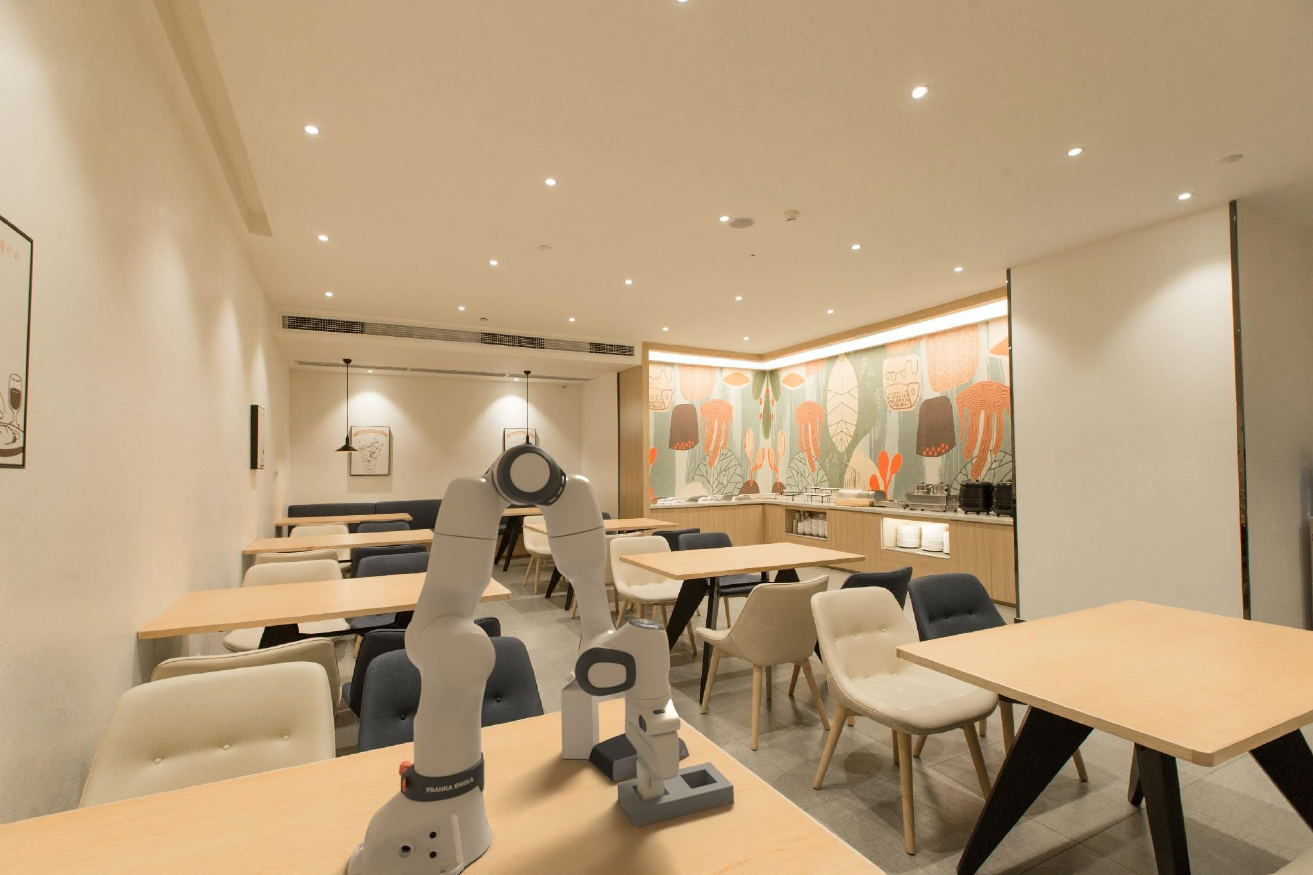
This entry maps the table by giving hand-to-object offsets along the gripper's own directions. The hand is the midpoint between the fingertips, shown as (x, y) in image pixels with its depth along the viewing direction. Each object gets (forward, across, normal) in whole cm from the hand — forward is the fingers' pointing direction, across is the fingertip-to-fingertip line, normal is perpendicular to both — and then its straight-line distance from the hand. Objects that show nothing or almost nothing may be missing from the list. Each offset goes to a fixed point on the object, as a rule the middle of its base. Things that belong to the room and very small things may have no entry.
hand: (650, 781), depth 111 cm
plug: (+5, 0, 0) cm, 5 cm away
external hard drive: (+5, -19, +4) cm, 20 cm away
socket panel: (+5, 0, +5) cm, 7 cm away
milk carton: (+5, -27, -7) cm, 28 cm away
